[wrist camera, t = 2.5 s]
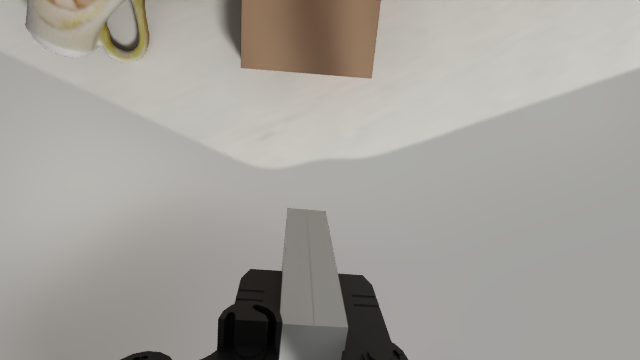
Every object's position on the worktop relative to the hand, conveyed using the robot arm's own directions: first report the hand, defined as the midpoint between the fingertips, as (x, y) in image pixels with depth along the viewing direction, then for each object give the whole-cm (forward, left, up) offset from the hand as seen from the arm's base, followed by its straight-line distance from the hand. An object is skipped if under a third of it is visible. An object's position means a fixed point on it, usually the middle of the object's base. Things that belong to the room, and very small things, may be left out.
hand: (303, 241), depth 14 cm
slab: (0, +11, -16) cm, 20 cm away
